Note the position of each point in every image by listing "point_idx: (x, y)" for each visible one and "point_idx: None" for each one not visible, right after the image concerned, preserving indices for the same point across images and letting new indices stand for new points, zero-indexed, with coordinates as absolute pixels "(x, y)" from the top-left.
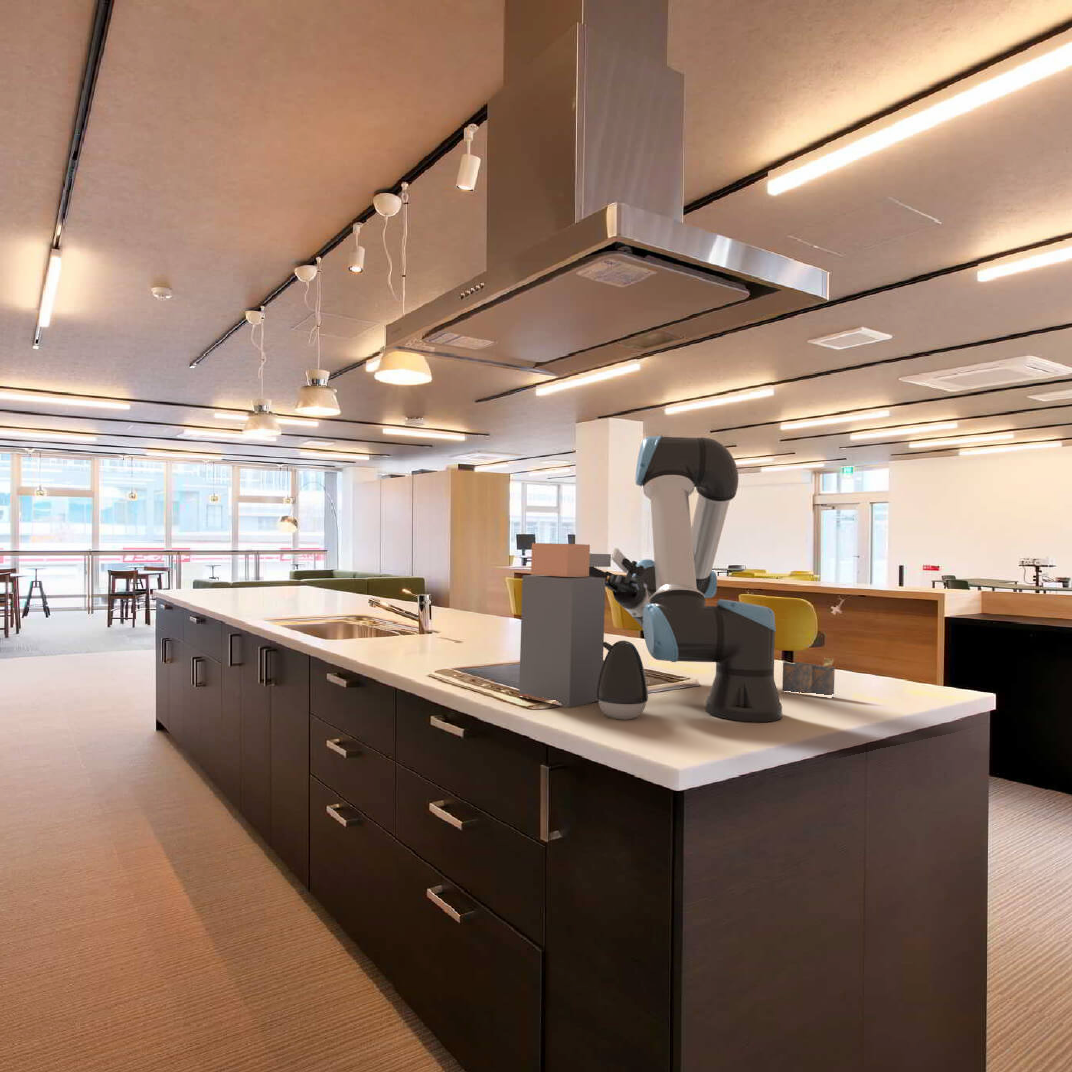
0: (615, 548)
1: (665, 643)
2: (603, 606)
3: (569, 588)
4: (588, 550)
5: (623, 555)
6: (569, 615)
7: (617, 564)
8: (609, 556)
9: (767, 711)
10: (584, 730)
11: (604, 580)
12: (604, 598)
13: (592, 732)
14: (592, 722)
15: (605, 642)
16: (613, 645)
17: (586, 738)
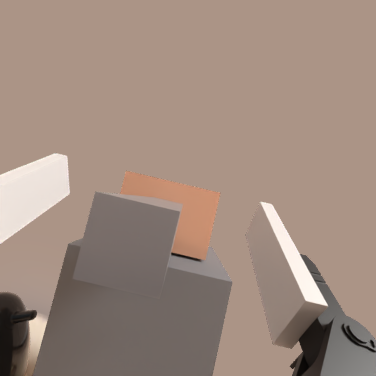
0: (63, 155)
1: None
2: (51, 317)
3: None
4: (124, 183)
5: (11, 172)
6: None
7: (34, 215)
8: (98, 206)
9: None
10: (39, 334)
11: (69, 249)
12: (54, 298)
13: (30, 332)
14: (28, 363)
15: (32, 310)
16: (19, 297)
17: (38, 317)
